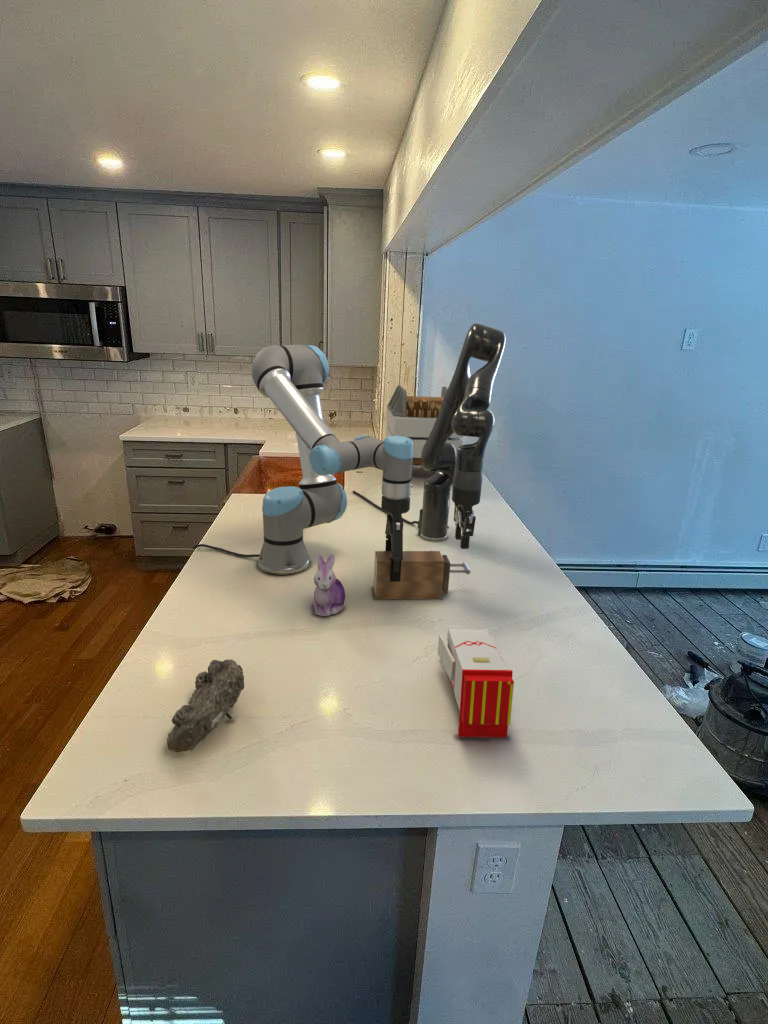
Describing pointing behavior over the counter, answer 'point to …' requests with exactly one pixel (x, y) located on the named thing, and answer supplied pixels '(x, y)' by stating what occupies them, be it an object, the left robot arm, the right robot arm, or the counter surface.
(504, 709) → the toy
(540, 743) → the counter surface
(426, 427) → the grey crate with legs
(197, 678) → the fossil
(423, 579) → the cabinet
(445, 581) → the drawer
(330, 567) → the figurine
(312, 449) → the left robot arm
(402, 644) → the counter surface
